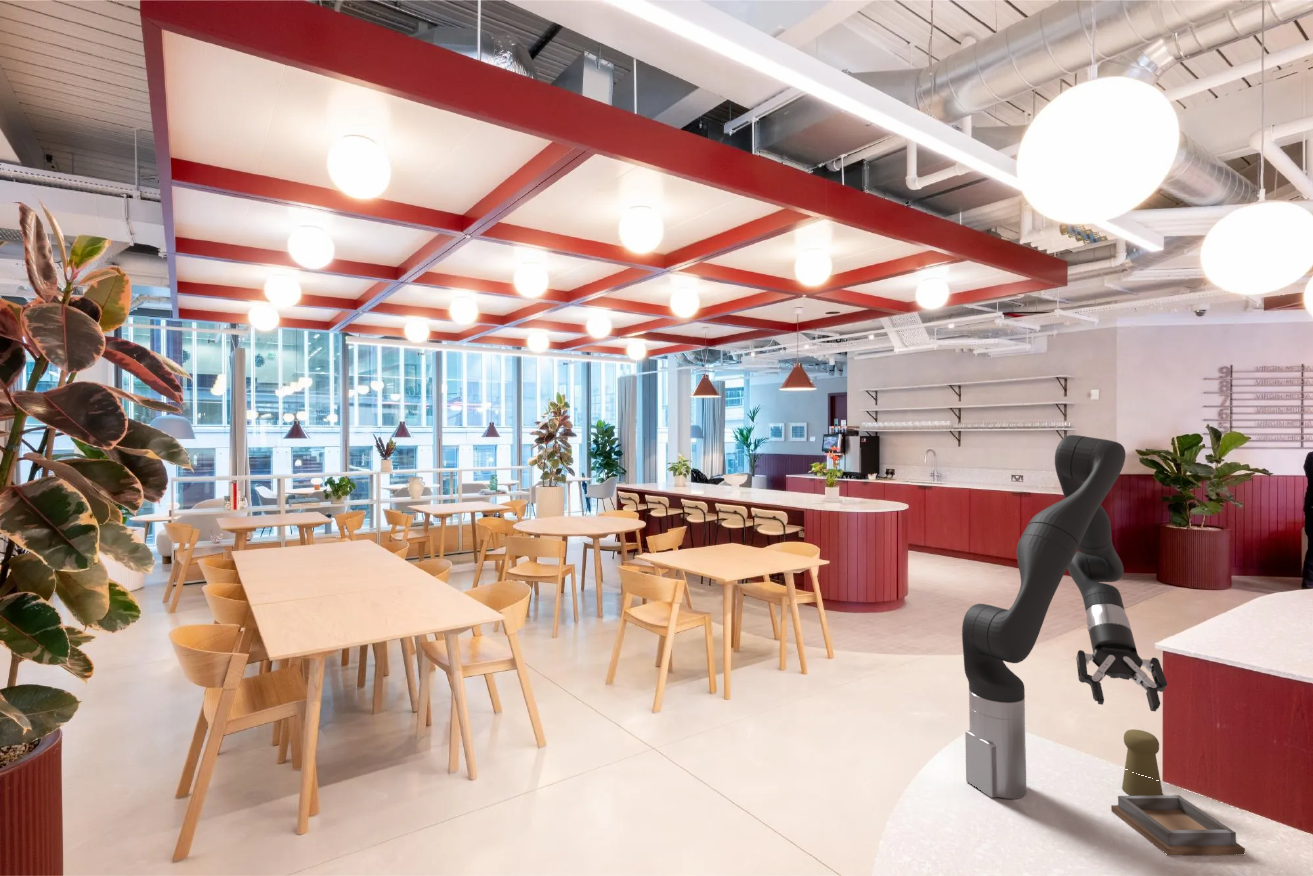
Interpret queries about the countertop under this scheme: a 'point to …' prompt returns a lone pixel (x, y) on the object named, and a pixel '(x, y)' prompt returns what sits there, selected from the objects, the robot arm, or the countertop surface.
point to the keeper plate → (1177, 825)
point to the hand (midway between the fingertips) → (1127, 706)
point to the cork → (1141, 764)
